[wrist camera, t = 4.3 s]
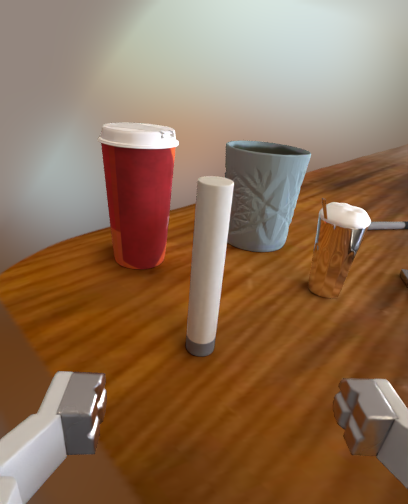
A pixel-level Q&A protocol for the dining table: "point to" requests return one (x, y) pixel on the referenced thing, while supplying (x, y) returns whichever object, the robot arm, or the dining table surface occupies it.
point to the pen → (388, 225)
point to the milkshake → (336, 246)
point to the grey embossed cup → (263, 192)
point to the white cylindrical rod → (208, 261)
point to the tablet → (404, 276)
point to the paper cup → (138, 190)
